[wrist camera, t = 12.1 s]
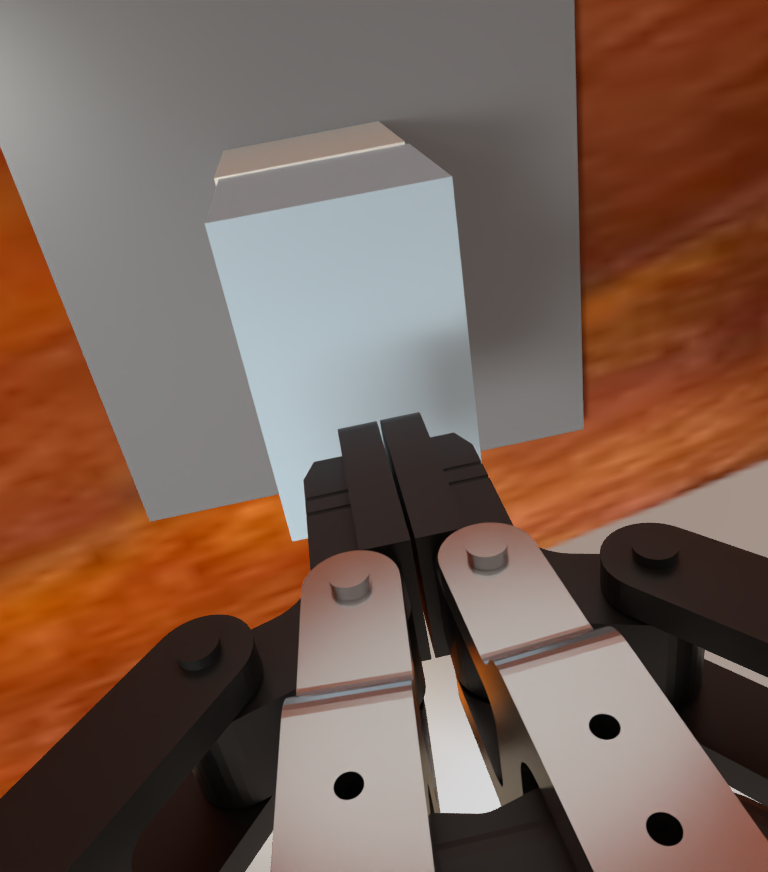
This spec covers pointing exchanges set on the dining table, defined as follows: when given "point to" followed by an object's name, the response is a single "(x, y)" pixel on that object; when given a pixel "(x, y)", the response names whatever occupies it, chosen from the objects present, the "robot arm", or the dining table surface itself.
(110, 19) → the charcoal baseplate
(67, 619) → the dining table surface
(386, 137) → the cream base brick
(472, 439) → the pale blue brick
